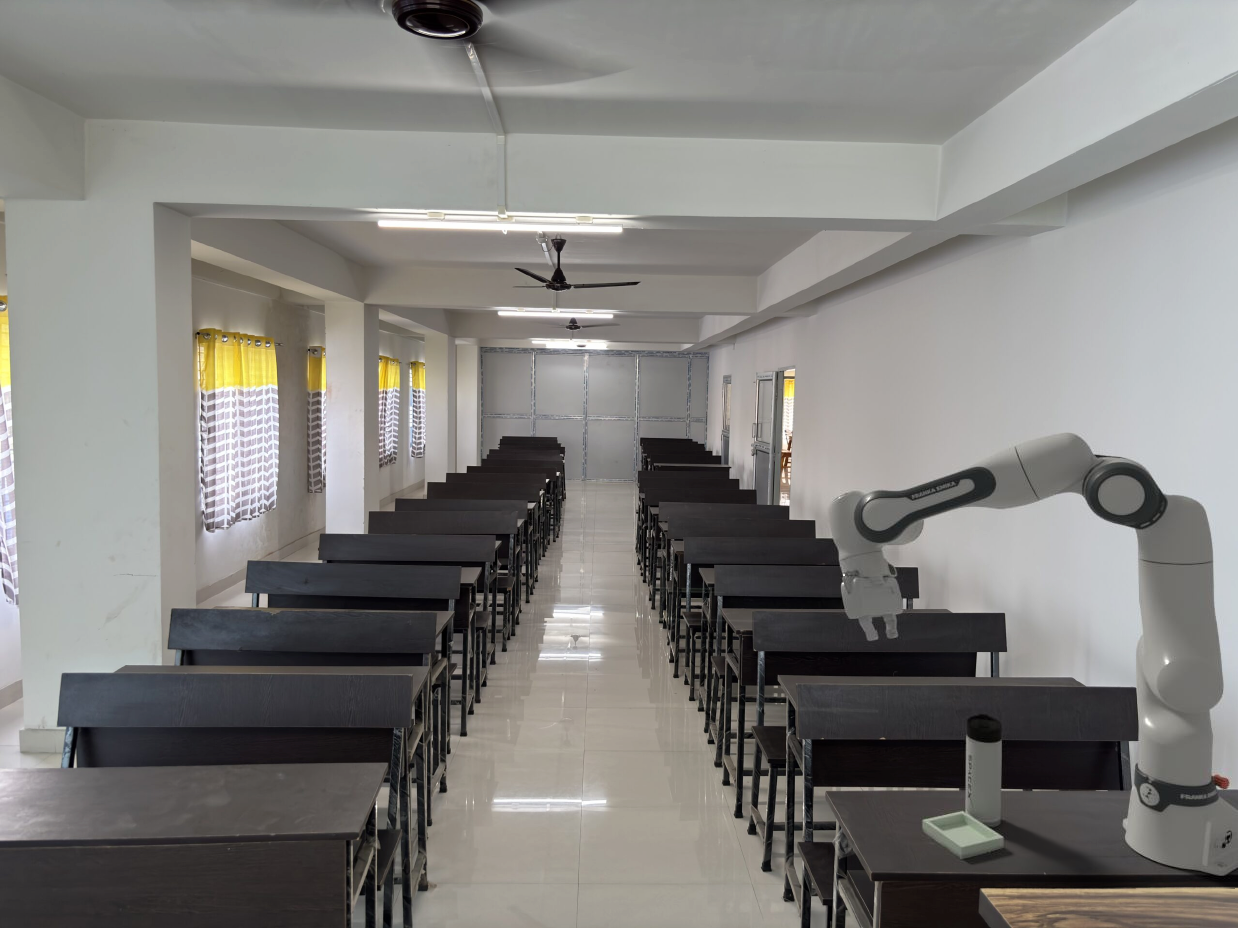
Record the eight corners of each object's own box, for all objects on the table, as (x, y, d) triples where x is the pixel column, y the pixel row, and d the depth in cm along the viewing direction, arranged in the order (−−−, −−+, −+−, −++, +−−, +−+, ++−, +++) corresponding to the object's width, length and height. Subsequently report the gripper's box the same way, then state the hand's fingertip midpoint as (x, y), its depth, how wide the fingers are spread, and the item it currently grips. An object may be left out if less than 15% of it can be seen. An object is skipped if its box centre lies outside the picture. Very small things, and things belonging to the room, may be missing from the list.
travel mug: (999, 814, 166) (1001, 714, 164) (1001, 830, 160) (1002, 727, 158) (965, 808, 168) (966, 711, 166) (965, 824, 162) (966, 723, 160)
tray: (962, 821, 163) (962, 810, 163) (1003, 848, 153) (1003, 836, 153) (922, 830, 160) (922, 819, 160) (961, 858, 150) (961, 847, 150)
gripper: (856, 566, 162) (876, 638, 158) (898, 567, 178) (917, 633, 174) (827, 574, 166) (845, 645, 162) (871, 575, 182) (889, 639, 178)
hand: (883, 638), depth 168 cm, fingers open, 8 cm apart
